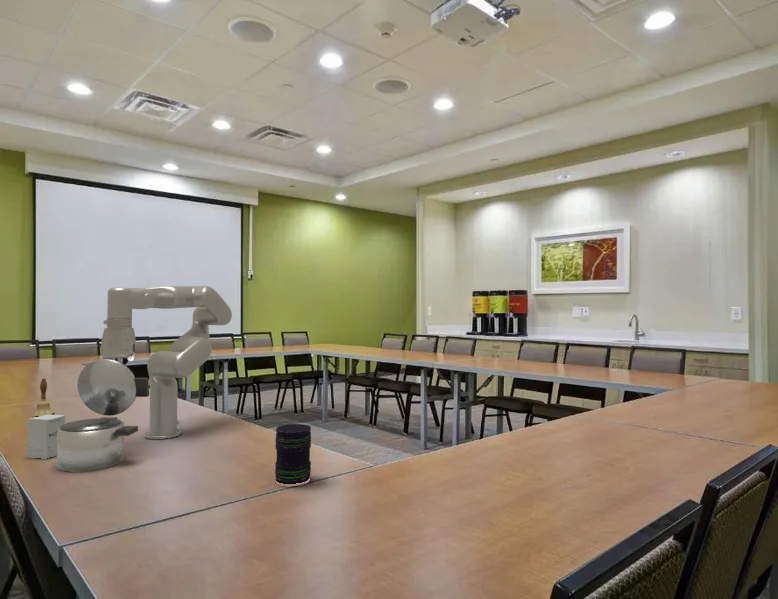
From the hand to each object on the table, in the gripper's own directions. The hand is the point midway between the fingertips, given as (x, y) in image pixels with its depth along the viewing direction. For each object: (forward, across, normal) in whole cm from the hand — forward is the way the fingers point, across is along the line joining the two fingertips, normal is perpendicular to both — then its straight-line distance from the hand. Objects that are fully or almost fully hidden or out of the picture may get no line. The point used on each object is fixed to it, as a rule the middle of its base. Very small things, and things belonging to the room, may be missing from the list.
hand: (118, 377), depth 177 cm
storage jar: (+24, +66, -31) cm, 76 cm away
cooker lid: (+2, +2, -7) cm, 8 cm away
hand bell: (+24, -60, +52) cm, 84 cm away
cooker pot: (+24, +2, -15) cm, 29 cm away
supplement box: (+24, -18, -9) cm, 32 cm away
